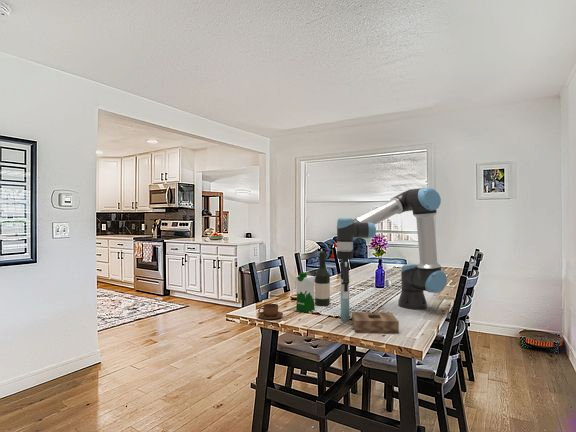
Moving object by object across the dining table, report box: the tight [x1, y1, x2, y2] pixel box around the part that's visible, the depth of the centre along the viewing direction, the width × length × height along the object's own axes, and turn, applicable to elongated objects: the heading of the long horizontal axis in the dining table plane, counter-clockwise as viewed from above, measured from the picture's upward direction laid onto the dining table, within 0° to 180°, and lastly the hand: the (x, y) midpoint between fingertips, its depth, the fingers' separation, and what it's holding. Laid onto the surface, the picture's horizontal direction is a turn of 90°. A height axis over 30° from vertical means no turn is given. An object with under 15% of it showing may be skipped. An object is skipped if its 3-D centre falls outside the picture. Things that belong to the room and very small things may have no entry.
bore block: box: [351, 311, 400, 334], centre depth 163 cm, size 18×14×5 cm
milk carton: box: [294, 271, 316, 314], centre depth 194 cm, size 9×9×20 cm
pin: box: [340, 290, 350, 323], centre depth 175 cm, size 4×4×14 cm
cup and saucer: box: [257, 303, 284, 320], centre depth 181 cm, size 12×12×6 cm
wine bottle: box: [314, 250, 331, 307], centre depth 207 cm, size 8×8×30 cm
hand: (344, 295), depth 175 cm, fingers open, 13 cm apart
